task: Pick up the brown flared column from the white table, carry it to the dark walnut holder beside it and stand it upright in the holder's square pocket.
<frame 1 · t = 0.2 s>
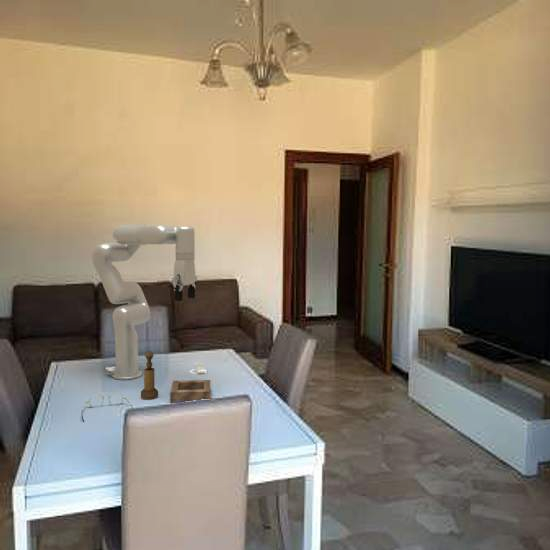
hand: (185, 299, 210), 37 cm above the table, tool pointing down, fingers open, 9 cm apart
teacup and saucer: (193, 374, 235), on the table
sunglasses: (107, 413, 184), on the table
walnut holder: (191, 395, 203), on the table
brown flared column: (149, 397, 201), on the table
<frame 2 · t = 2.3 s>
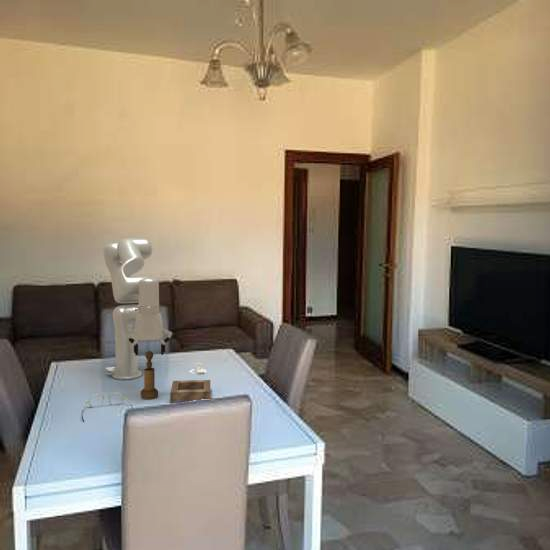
hand: (149, 354, 199), 17 cm above the table, tool pointing down, fingers open, 9 cm apart
nothing on the table moved.
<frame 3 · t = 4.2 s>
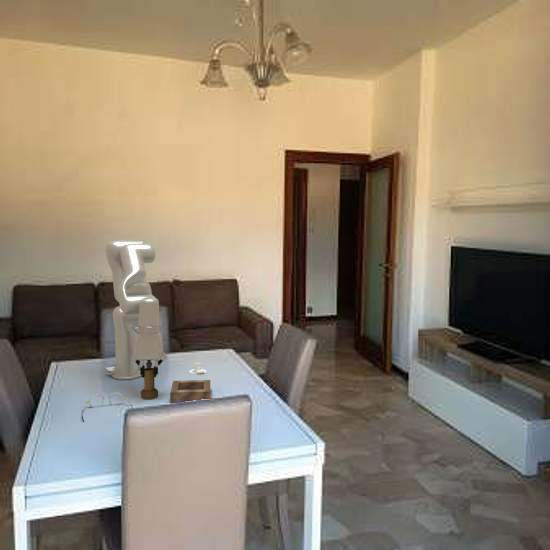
hand: (149, 376, 201), 8 cm above the table, tool pointing down, fingers closed on brown flared column, 3 cm apart
brown flared column: (149, 397, 201), on the table, touching gripper
everything else where it was.
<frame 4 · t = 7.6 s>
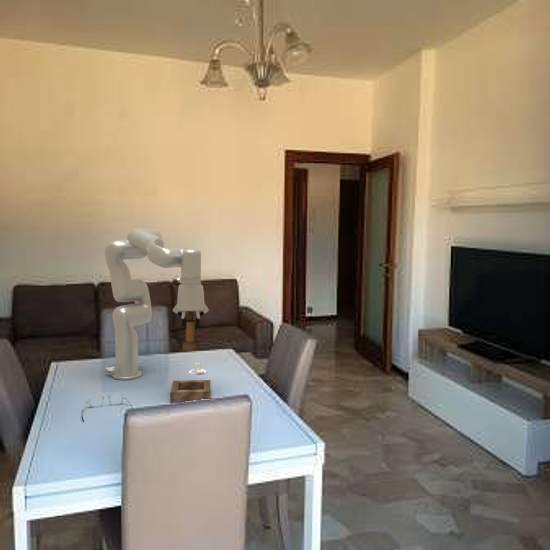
hand: (190, 327, 201), 27 cm above the table, tool pointing down, fingers closed on brown flared column, 3 cm apart
brown flared column: (190, 349, 202), point 19 cm above the table, touching gripper
everything else where it was.
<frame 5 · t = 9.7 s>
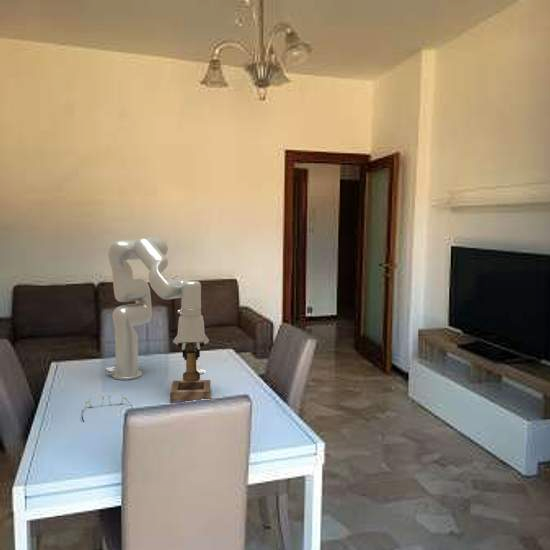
hand: (191, 358, 202), 15 cm above the table, tool pointing down, fingers closed on brown flared column, 3 cm apart
brown flared column: (191, 380, 203), point 6 cm above the table, touching gripper
everything else where it was.
when the fingers open (11 cm above the table, at t = 11.3 s): brown flared column drops 2 cm, resting on walnut holder.
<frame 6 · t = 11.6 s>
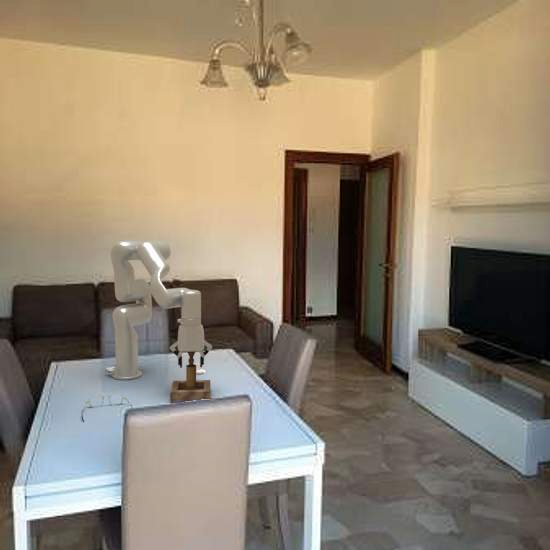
hand: (191, 366, 202), 12 cm above the table, tool pointing down, fingers open, 7 cm apart
brown flared column: (191, 393, 203), point 1 cm above the table, touching walnut holder
everything else where it was.
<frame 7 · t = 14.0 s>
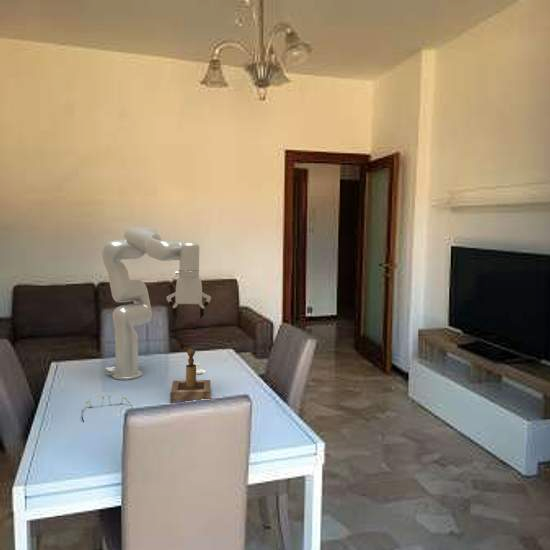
hand: (188, 317, 203), 31 cm above the table, tool pointing down, fingers open, 9 cm apart
nothing on the table moved.
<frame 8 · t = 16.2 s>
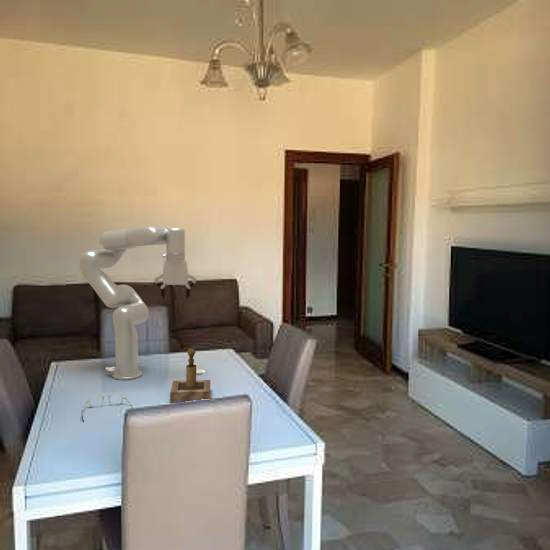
hand: (175, 298, 216), 36 cm above the table, tool pointing down, fingers open, 9 cm apart
at the end: brown flared column 0.1 cm off-centre on the walnut holder, point 0.8 cm above the walnut holder's base; brown flared column tilted 0°; the gripper is holding nothing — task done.
